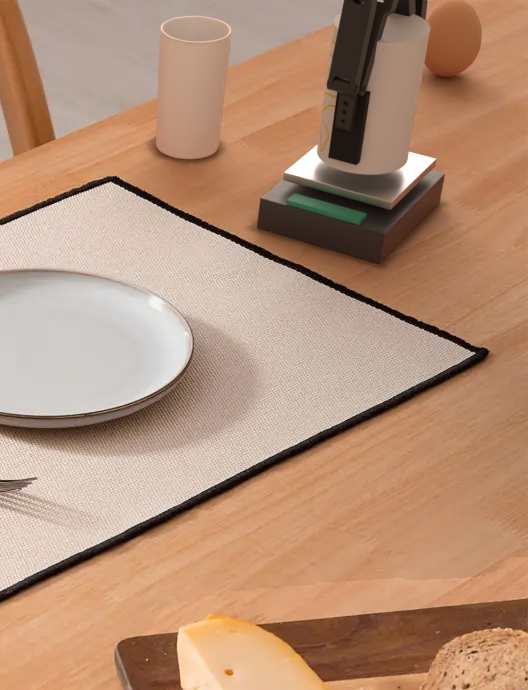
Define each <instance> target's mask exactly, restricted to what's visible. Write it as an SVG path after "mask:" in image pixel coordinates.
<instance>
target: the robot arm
mask: <svg viewBox="0 0 528 690" xmlns="http://www.w3.org/2000/svg"><path fill="white" fill-rule="evenodd" d="M428 2H429V0H382V1H380V0H379V1H378V0H343V3H342V7H341V12H340V13H341V18H340V23H339V28H338V33H337V38H336V42H335V47H334V52H333V57H332V62H331V67H330V72H329V77H328V80H327V89H329V90H333V91H336V92H337V97H336V104H335V112H334V119H333V126H332V133H331V140H330V148H329V155H328V158H331V159H335V160H339V161H342V162H346V163H350V164H354V165H357V164H358V163H360V158H361V152H362V145H363V139H364V132H365V126H366V119H367V113H368V106H369V99H370V93H371V92H370V91H366V90H367V85H368V82H369V78H370V75H371V72H372V68H373V65H374V60H375V54H376V47H377V42H378V41H379V40H380V39H381V38H382V34H383V31H384V27H385V24H386V21H387V17H388V16H389V15H391V14H393V13H395V14H400V15H404V16H409V17H410V16H411V15H412V14H415V15H417V16H419V17H421V18H423V19H424V20H425V21H426V20H427V11H428V4H429V3H428Z"/></svg>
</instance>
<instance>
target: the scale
mask: <svg viewBox="0 0 528 690" xmlns="http://www.w3.org/2000/svg"><path fill="white" fill-rule="evenodd" d="M445 175H446V174H445V173H444V172H439V171H436V170H433V169H432V170H431V171H430V172H429V173H428V174H427V175H426V176H425V177H424V178H423V179H422V180H421V181H420V182H419V183H418V184H417V185H416V186H415V187H413V188H412V189H411V190H410V191H409V192H408V193H407V194H406V195H405V196H404V197H403V198H402V199H401V200H400V201H399V202H398V203H397V204H396V205H395V206H394V207H393V208H392V209H391V210H388V209H385V208H381V207H378V206H374V205H371V204H367V203H363V202H360V201H356V200H353V199H349V198H345V197H342V196H338V195H335V194H331V193H328V192H324V191H320V190H317V189H313V188H310V187H306V186H302V185H299V184H295V183H292V182H288V181H285V180H283V178H282V179H281V180H280V181H279V182H277V183H276V184H275V185H274V186H273V187H272V188H270V189H269V190H268V191H267V192H266V193H264V194H263V195H262V196H261V197H260V198H259V205H258V206H259V207H258V214H257V215H258V216H257V225H256V227H257V228H256V229H260V230H263V231H267V232H270V233H274V234H277V235H280V236H284V237H286V238H291V239H294V240H297V241H301V242H303V243H308V244H311V245H313V246H318V247H321V248H324V249H328V250H331V251H334V252H338V253H341V254H345V255H347V256H351V257H355V258H358V259H361V260H365V261H368V262H372V263H375V264H377V265H381V263H383V261H384V260H385V259H386V258H387V257H388V256H390V254H392V252H393V251H394V250H395V249H396V248H397V247H398V246H399V245H400V244H401V243H402V242H403V241H404V240H405V239H406V238H407V237H408V236H409V235H410V234H411V233H412V232H413V231H414V230H415V229H416V228H417V226H418V225H420V224H421V223H422V222H423V221H424V220H425V218H426V217H428V215H429V214H430V213H432V211H434V209H436V207H438V206H439V204H440V203H441V198H442V193H443V187H444V182H445V177H446V176H445Z"/></svg>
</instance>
